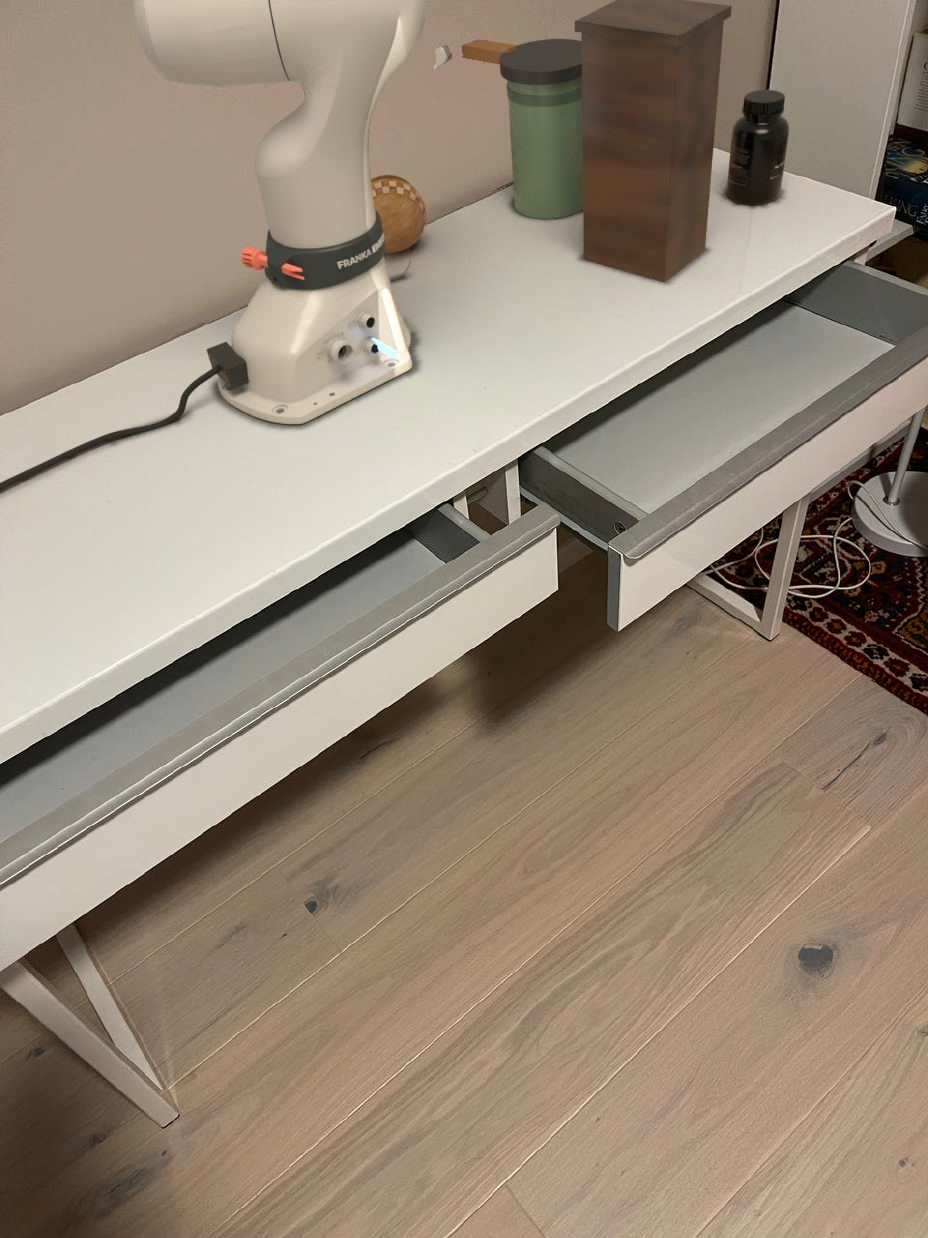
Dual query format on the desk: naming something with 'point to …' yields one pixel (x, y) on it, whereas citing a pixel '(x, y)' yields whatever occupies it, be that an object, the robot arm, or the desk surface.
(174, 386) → the desk surface
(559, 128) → the tin
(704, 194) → the stand
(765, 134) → the supplement bottle
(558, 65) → the lid
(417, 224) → the toy
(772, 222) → the desk surface
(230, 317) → the desk surface
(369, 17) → the robot arm
